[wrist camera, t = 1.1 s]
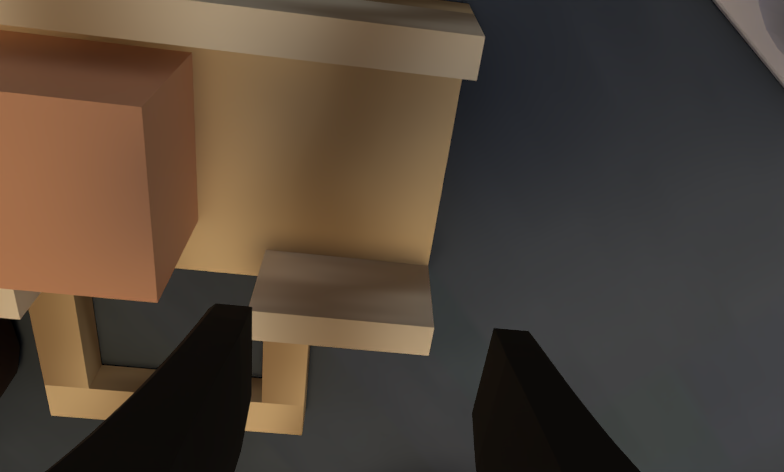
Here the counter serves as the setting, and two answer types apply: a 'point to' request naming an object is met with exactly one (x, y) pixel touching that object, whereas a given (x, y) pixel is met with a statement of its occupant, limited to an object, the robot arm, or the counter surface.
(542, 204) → the counter surface
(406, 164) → the wooden tray
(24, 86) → the block
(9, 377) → the vinegar
